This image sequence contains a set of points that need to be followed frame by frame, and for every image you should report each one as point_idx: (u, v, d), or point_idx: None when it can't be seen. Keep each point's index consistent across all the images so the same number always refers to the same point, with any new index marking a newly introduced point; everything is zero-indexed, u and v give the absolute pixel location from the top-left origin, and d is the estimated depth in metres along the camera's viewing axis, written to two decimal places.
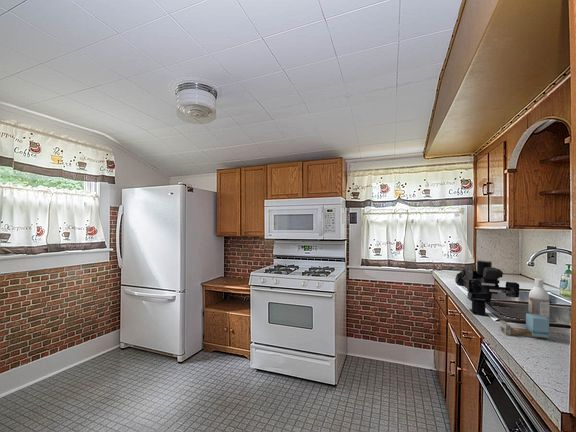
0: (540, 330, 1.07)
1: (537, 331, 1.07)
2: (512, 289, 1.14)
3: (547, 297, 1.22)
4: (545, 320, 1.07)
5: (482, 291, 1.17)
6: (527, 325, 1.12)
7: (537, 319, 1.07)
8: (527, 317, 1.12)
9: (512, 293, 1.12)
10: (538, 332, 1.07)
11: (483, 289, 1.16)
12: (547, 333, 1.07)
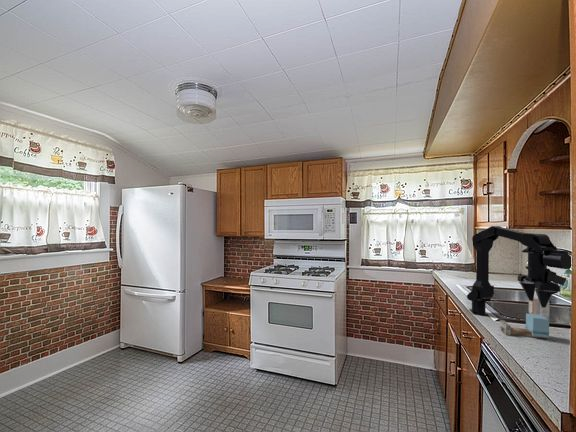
0: (540, 330, 1.07)
1: (537, 331, 1.07)
2: None
3: None
4: (545, 320, 1.07)
5: (542, 301, 1.05)
6: (527, 325, 1.12)
7: (537, 319, 1.07)
8: (527, 317, 1.12)
9: (531, 298, 1.14)
10: (538, 332, 1.07)
11: (545, 302, 1.05)
12: (547, 333, 1.07)
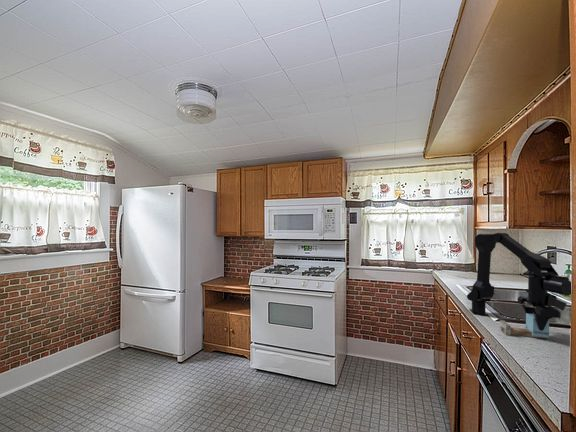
0: (540, 330, 1.07)
1: (537, 331, 1.07)
2: None
3: None
4: None
5: (540, 324, 1.06)
6: (527, 325, 1.12)
7: None
8: (527, 317, 1.12)
9: None
10: (538, 332, 1.07)
11: (543, 326, 1.06)
12: (547, 333, 1.07)
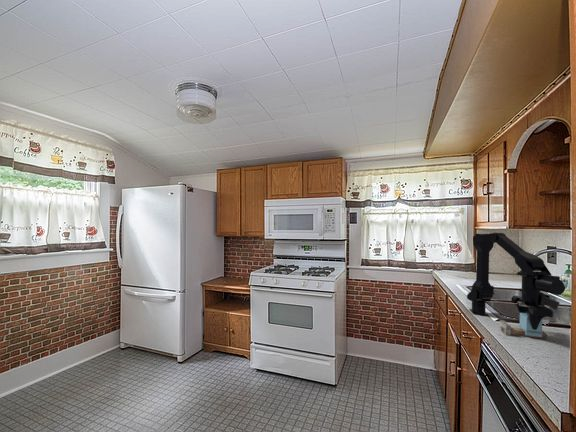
0: None
1: (530, 330, 1.08)
2: None
3: None
4: None
5: (533, 323, 1.07)
6: (520, 324, 1.13)
7: None
8: (521, 316, 1.13)
9: None
10: (531, 331, 1.08)
11: (536, 325, 1.07)
12: (540, 333, 1.07)
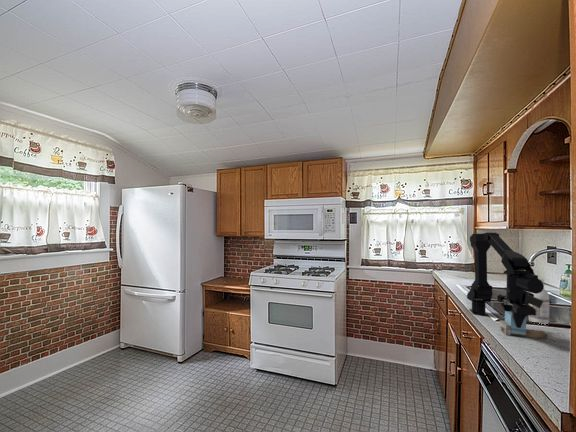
0: None
1: (515, 328, 1.10)
2: None
3: (547, 297, 1.22)
4: None
5: (517, 321, 1.09)
6: None
7: None
8: (506, 315, 1.14)
9: None
10: (515, 329, 1.10)
11: (520, 323, 1.08)
12: (524, 331, 1.09)
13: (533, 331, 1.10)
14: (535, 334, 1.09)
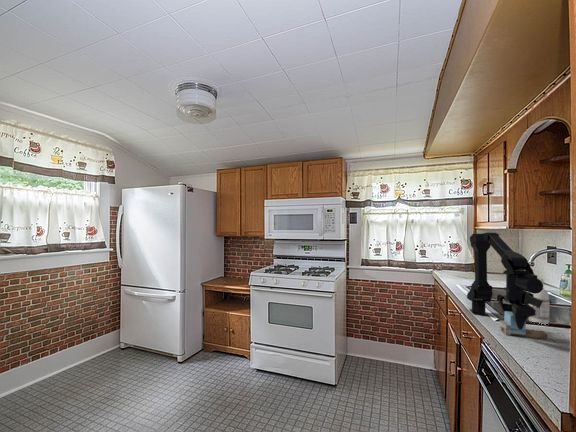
0: (517, 327, 1.10)
1: (514, 328, 1.10)
2: None
3: (547, 297, 1.22)
4: None
5: (519, 323, 1.07)
6: None
7: None
8: (505, 315, 1.15)
9: None
10: (515, 329, 1.10)
11: (521, 324, 1.07)
12: (523, 331, 1.09)
13: (533, 331, 1.10)
14: (535, 334, 1.09)
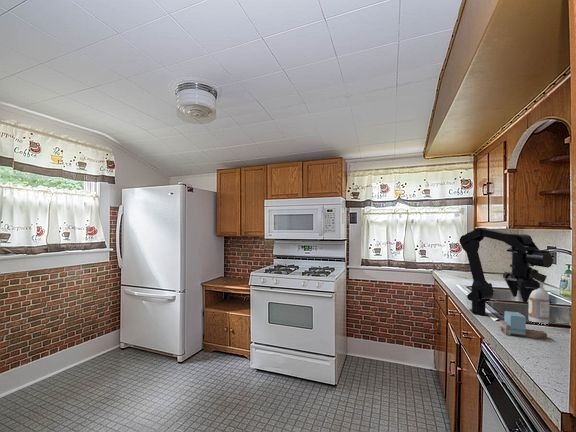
0: (517, 327, 1.10)
1: (514, 328, 1.10)
2: None
3: (547, 297, 1.22)
4: (522, 317, 1.09)
5: (524, 296, 1.13)
6: None
7: (514, 316, 1.10)
8: (505, 315, 1.15)
9: (514, 294, 1.22)
10: (515, 329, 1.10)
11: (526, 298, 1.13)
12: (523, 331, 1.09)
13: (533, 331, 1.10)
14: (535, 334, 1.09)
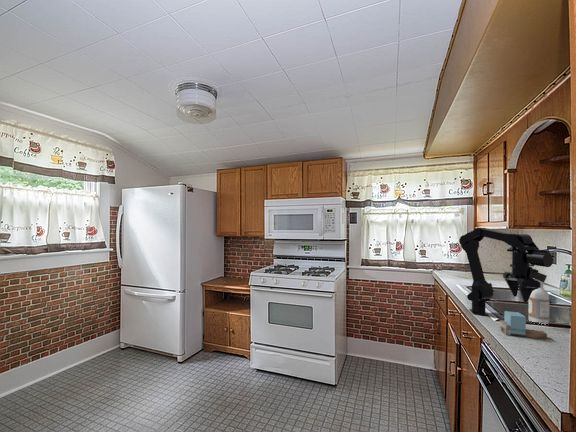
0: (517, 327, 1.10)
1: (514, 328, 1.10)
2: None
3: (547, 297, 1.22)
4: (522, 317, 1.09)
5: (524, 296, 1.13)
6: None
7: (514, 316, 1.10)
8: (505, 315, 1.15)
9: (515, 294, 1.22)
10: (515, 329, 1.10)
11: (527, 298, 1.13)
12: (523, 331, 1.09)
13: (533, 331, 1.10)
14: (535, 334, 1.09)
